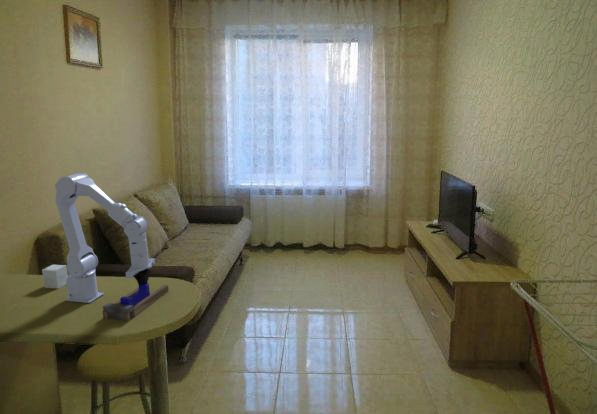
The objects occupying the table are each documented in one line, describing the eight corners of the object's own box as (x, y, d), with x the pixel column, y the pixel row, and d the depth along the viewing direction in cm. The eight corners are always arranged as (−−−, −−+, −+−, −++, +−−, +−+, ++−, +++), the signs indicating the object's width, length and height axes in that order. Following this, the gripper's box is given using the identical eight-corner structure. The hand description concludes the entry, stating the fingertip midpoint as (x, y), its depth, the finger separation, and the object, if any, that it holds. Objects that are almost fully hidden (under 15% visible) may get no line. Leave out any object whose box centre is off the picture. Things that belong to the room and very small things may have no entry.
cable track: (103, 318, 148) (101, 306, 147) (145, 289, 171) (144, 279, 170) (129, 321, 146) (127, 309, 145) (168, 291, 168) (167, 280, 168)
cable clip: (138, 299, 161) (137, 283, 160) (150, 300, 160) (148, 284, 159) (118, 315, 150) (116, 298, 149) (130, 316, 149) (128, 299, 148)
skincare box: (69, 283, 179) (66, 264, 178) (58, 289, 174) (55, 270, 172) (55, 282, 181) (53, 264, 179) (44, 288, 175) (41, 269, 173)
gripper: (137, 260, 150) (141, 299, 153) (161, 246, 164) (164, 283, 167) (118, 259, 152) (123, 298, 155) (143, 245, 166) (147, 281, 169)
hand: (143, 290), depth 161 cm, fingers closed
